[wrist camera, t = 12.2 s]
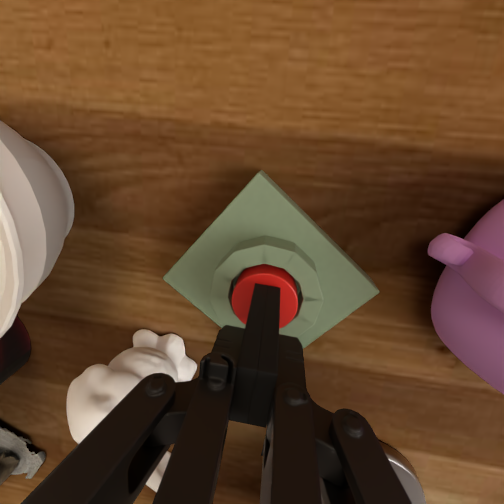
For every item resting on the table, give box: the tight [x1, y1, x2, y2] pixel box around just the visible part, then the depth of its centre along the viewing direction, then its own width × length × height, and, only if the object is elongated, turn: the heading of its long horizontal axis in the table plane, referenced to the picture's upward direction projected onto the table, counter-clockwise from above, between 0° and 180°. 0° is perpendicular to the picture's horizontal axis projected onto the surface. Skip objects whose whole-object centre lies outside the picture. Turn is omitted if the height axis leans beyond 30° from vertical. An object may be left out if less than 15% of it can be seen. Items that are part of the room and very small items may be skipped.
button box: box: [163, 170, 380, 348], centre depth 19 cm, size 11×10×4 cm
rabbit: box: [66, 329, 197, 492], centre depth 20 cm, size 12×9×12 cm
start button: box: [232, 264, 298, 329], centre depth 17 cm, size 4×4×2 cm
